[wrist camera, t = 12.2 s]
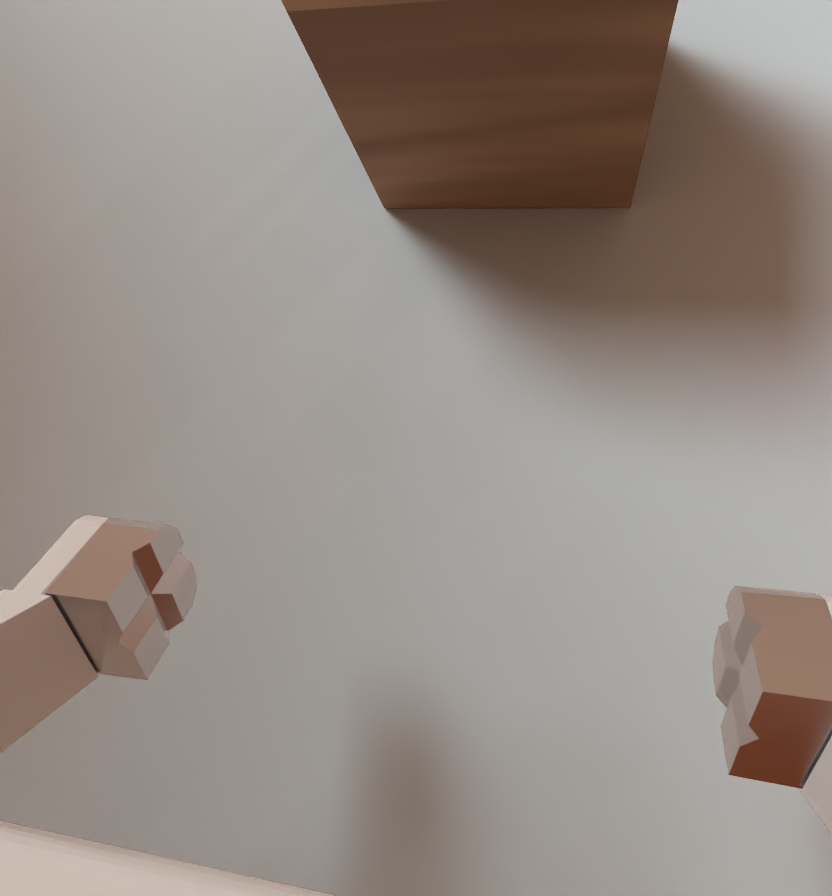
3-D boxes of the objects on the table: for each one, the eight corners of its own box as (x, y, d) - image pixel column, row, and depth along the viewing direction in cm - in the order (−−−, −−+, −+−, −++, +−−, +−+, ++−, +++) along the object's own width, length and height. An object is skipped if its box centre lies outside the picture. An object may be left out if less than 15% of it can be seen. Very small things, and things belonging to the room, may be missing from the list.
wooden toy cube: (630, 207, 16) (688, -45, 9) (384, 208, 18) (275, -13, 11) (641, 28, 17) (704, -334, 10) (402, 41, 18) (310, -272, 11)
